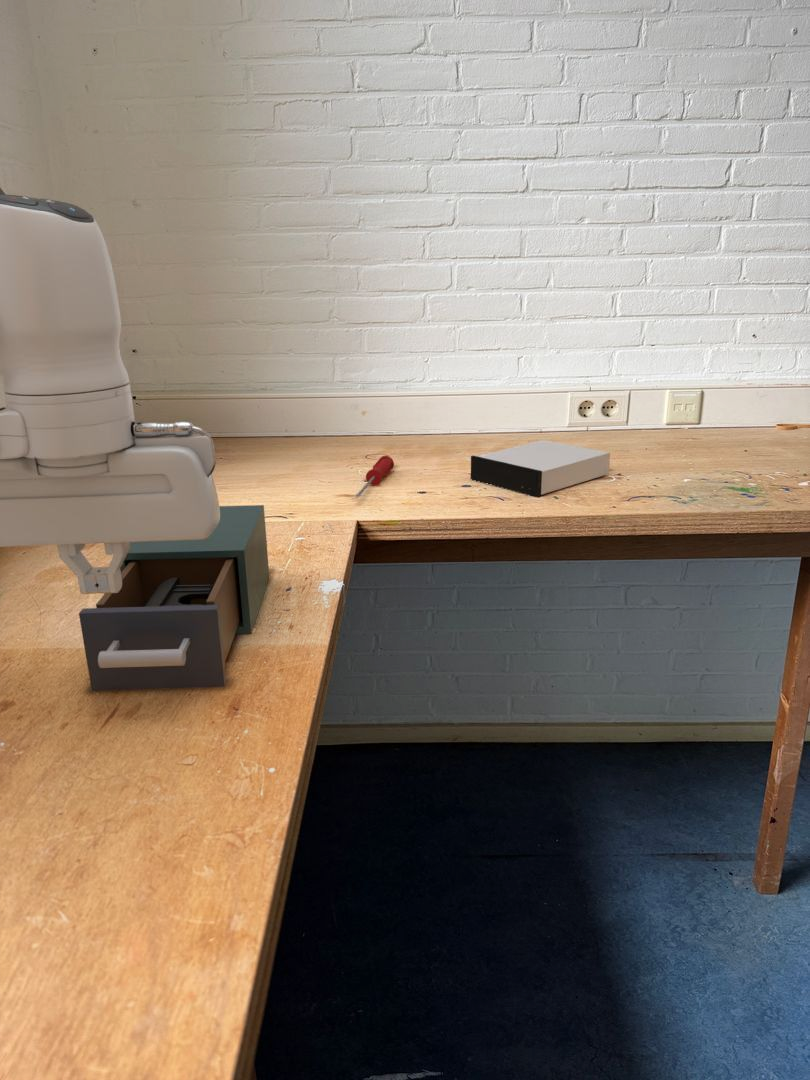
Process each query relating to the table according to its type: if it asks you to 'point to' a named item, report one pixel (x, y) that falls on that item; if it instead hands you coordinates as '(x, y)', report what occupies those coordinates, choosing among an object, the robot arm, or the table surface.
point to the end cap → (178, 594)
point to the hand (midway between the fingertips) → (102, 591)
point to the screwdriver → (378, 472)
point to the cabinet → (224, 554)
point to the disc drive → (539, 467)
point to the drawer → (163, 628)
